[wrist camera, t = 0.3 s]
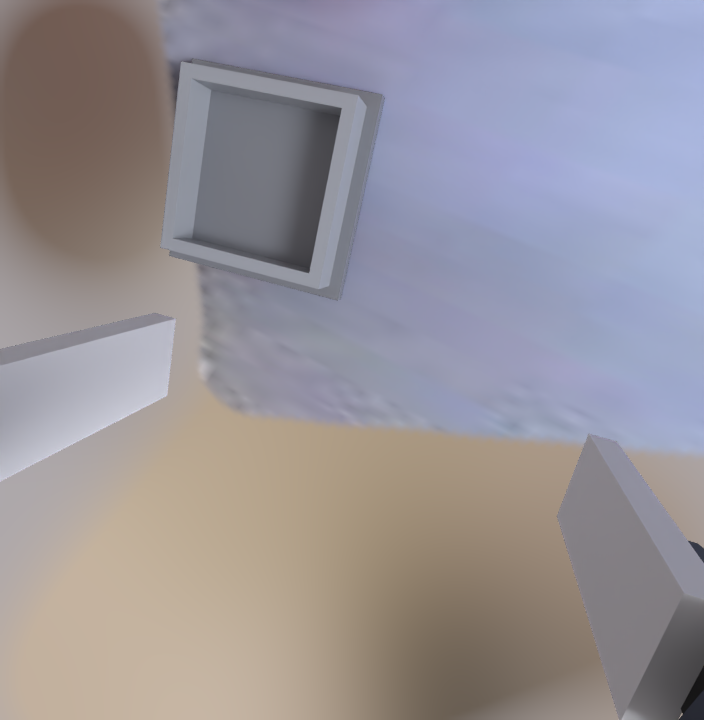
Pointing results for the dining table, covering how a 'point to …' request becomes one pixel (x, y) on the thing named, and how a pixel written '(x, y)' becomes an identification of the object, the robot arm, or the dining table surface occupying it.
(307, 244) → the tray
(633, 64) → the dining table surface
